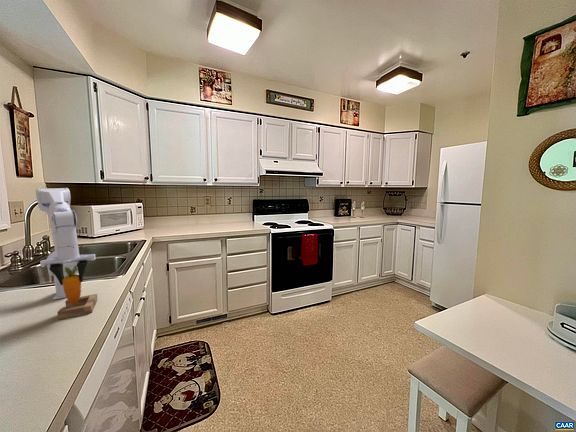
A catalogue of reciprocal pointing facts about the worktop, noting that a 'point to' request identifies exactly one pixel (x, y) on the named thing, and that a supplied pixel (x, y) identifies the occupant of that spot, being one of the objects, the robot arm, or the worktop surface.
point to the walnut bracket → (78, 307)
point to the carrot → (72, 286)
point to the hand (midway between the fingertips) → (72, 282)
